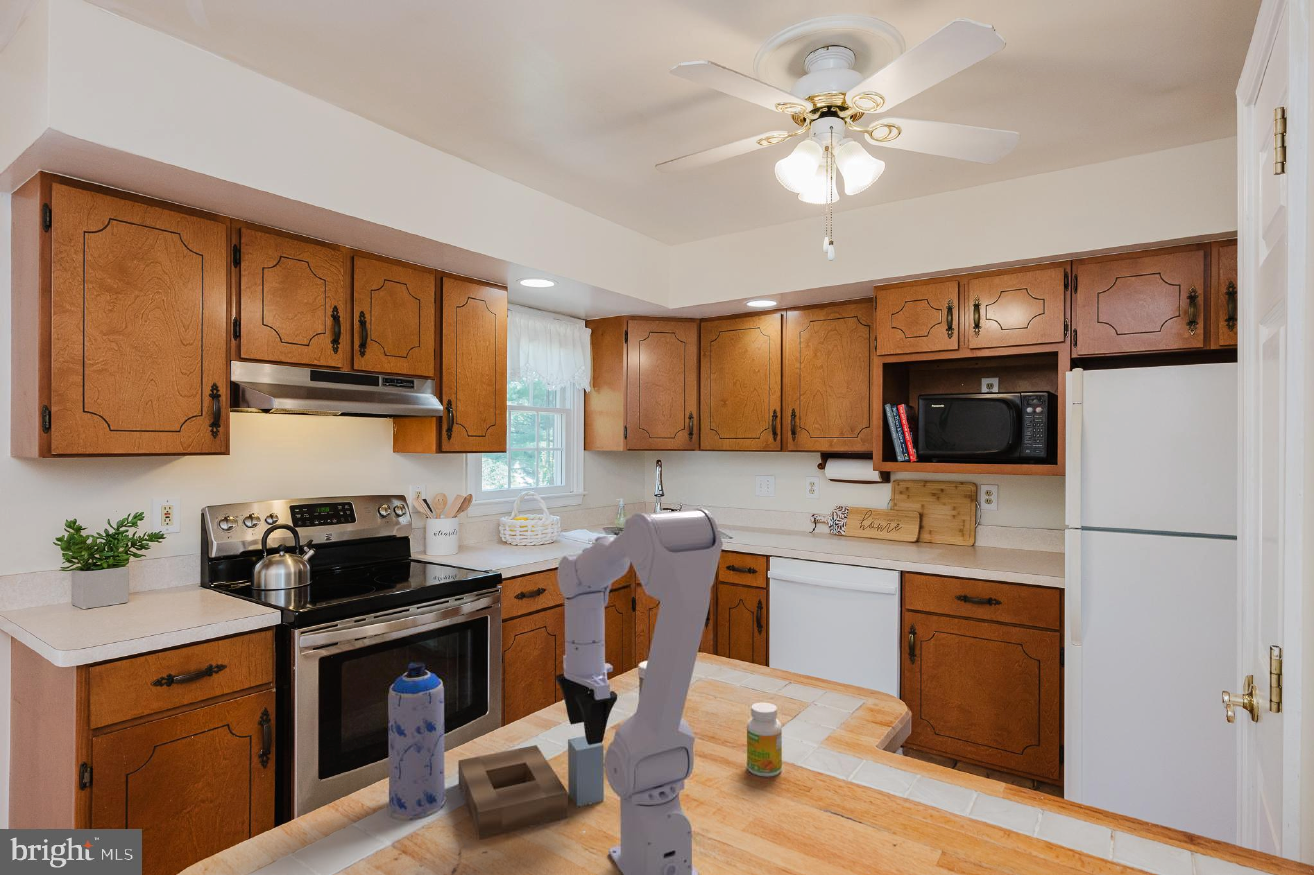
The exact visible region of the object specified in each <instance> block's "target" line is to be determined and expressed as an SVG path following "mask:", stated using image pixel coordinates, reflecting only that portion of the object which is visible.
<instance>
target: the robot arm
mask: <svg viewBox="0 0 1314 875" xmlns="http://www.w3.org/2000/svg"><path fill="white" fill-rule="evenodd" d="M723 545H724V543H723V540H722V537H721V534H720V531H719V528H718V525H717V522H716V520H715V518H714V516H713V515H712V513H711V512H710V511H708V510H707V509H706V508H695V509H692V510H681V511H666V512H654V513H653V512H652V513H643V512H638V513H637V512H636V513H634V514H632V515H631V517H629V518H626V519H625V521H624V527H623V530H622V531H621V532H619V533H618V534H617V535H616V536H615V537H609V536H608V535H602V536H601V535H600V536H597V537H596V538H594V543H593V544H592V545H591V546H590V547H585V548H583V549H582V552H581V553H580V554H578V555H577V556H570V555H569V556H568V555H563V557H562V558H561V560H560V561H559V563H558V567H557V572H556V574H557V584H558V588H559V591H560V593H561V596H563V597H564V653H565V654H564V655H563V657H562V660H563V661H562V662H563V663H562V665H563V666H562V668H563V673H558V674H556V675H555V680H556V682H557V683H558V685H559V688H560V690H561V693H562V695H563V700H564V704H565V709H566V713H567V718H568V720H569V724H570V725H572V726H573V725H576V724H580V723H581V724H582V723H583V728H584V729H583V730H584V736H586V740H587V743H588V744H589V745H592V744H597V743H602V744H603V740H604V737H605V733H606V728H607V724H608V720H609V717H610V714H611V712H612V709H613V707H614V706H615V704H616V702H617V701H618V694H617V692H616V691H614V690H611V684H610V682H609V681H608V675H607V674H608V673H612V672H613V665H611V664H610V663H607V662H606V644H605V643H606V642H605V641H606V638H605V635H606V634H605V629H606V622H605V607H606V606H607V605H608V603H609V592H610V590H611V588H612V583H613V582H615V581H616V580H618V579H620V578H621V577H623V576H624V575H626V574H627V572H628V571H629V569H630V565H632V567H633V569H634V571H635V573H636V576H637V578H638V580H639V582H640V584H641V586H642V588H643V591H644V593H645V594H646V595H647V596H649V597H651V598H653V599H656V600H657V601H659V606H658V607H659V608H658V612H657V616H656V621H655V624H654V625H655V627H654V629H653V635H652V639H651V644H650V649H649V653H648V658H647V660H646V661H647V666H646V670H645V675H644V679H643V684H642V689H641V693H640V698H639V697H638V702H637V708H636V711H635V712H634V714H633V715H631V716H630V717H629V718H628V719H627V720H626V721H624V722H623V723H622V724H621V725H620V726H619V727H618V728H616V729H615V733H614V737H613V740H612V741H611V742H610V743H609V745H608V746H607V748H606V749H607V750H606V752H605V753H604V755H605V756H604V771H605V775H606V776H605V777H606V779H607V782H608V784H609V787H610V788H611V790H612V791H613V792H614V793H615V794H616V795H617V796H618V797H619V798H620V799H619V800H620V802H619V803H620V805H619V809H620V812H619V813H620V816H619V817H620V819H619V820H620V827H619V828H620V829H619V830H620V845H616V846H613V847H609V850H608V854H609V855H610V857H611V858H612V859H613V861H614V863H615V864H616V866H617V867H618V869H619V870H620V871H621V874H622V875H699V874H700V873H699V871H698V869H696V868H695V866H693V845H692V844H693V839H692V838H693V834H692V833H693V832H692V831H693V830H692V825H691V822H690V820H689V818H688V817H687V816H686V814H685V813H684V811H683V808H682V806H681V801H680V792H681V791H684V790H685V780H688V779H689V778H690V777H691V775H692V773H693V769H694V764H695V756H694V744H695V741H696V736H695V735H694V732H693V731H692V728H691V726H690V725H689V723H688V722H687V720H686V719H685V718H684V717H683V713H684V708H685V705H686V701H687V697H688V693H689V689H690V685H691V681H692V677H693V673H694V669H695V666H696V665H695V664H696V660H697V658H698V657H697V656H698V653H699V648H700V646H701V640H702V637H703V632H704V628H705V625H706V620H707V617H708V611H709V608H710V602H711V589H712V586H713V585H714V582H715V578H716V575H717V574H716V573H717V569H718V566H719V562H720V558H721V553H722V549H723Z"/></svg>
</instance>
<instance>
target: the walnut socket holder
mask: <svg viewBox="0 0 1314 875" xmlns="http://www.w3.org/2000/svg"><path fill="white" fill-rule="evenodd" d="M457 764H458V767H457V768H458V774H457V775H458V785H459V788H460V791H461V793H462V796H463V800H464V802H465V805H466V808H467V810H468V813H469V815H470V818H471V821H472V823H473V826H474V829H475V832H476V835H477V837H478V840H483V839H487V838H491V837H494V836H498V835H502V834H507V833H511V832H515V831H519V830H522V829H527V828H530V827H535V826H539V825H543V824H547V823H551V822H554V821H559V820H563V819H567V818H569V814H568V813H569V807H568V806H569V805H568V804H569V800H568V799H569V798H568V796H569V794H568V790H567V789H566V787H565V786H564V784H563V783H562V781H561V779H560V778H559V777H558V775H557V774H556V772H555V771H554V769H553V767H552V766H551V765H550V763H549V762H548V759H547V758H546V757H545V756H544V754H543V752H542V751H541V750H540V748H539V747H538V745H537V744H534V745H529V746H523V747H520V748H515V749H510V750H504V751H499V752H495V753H489V754H484V755H478V756H474V757H468V758H463V759H458V761H457Z"/></svg>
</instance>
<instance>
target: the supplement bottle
mask: <svg viewBox="0 0 1314 875" xmlns="http://www.w3.org/2000/svg"><path fill="white" fill-rule="evenodd" d="M750 710H751V712H750V714H751V718H749V719H748V721H747V724H746V766H747V770H748V771H749V772H750V773H752V774H753V775H756V776H758V777H759V776H760V777H774V776H777V775H779V774H780V773H781V772H782V770H783V768H782V766H783V762H782V761H783V759H782V758H783V756H782V755H783V752H782V748H783V746H782V742H783V741H782V732H783V731H782V730H783V729H782V724H781V722H780V720H778V719H777V717H778V708H777V706H776V705H775V704H773V703H770V702H756V703H753V704H752V705H751V709H750Z"/></svg>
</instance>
